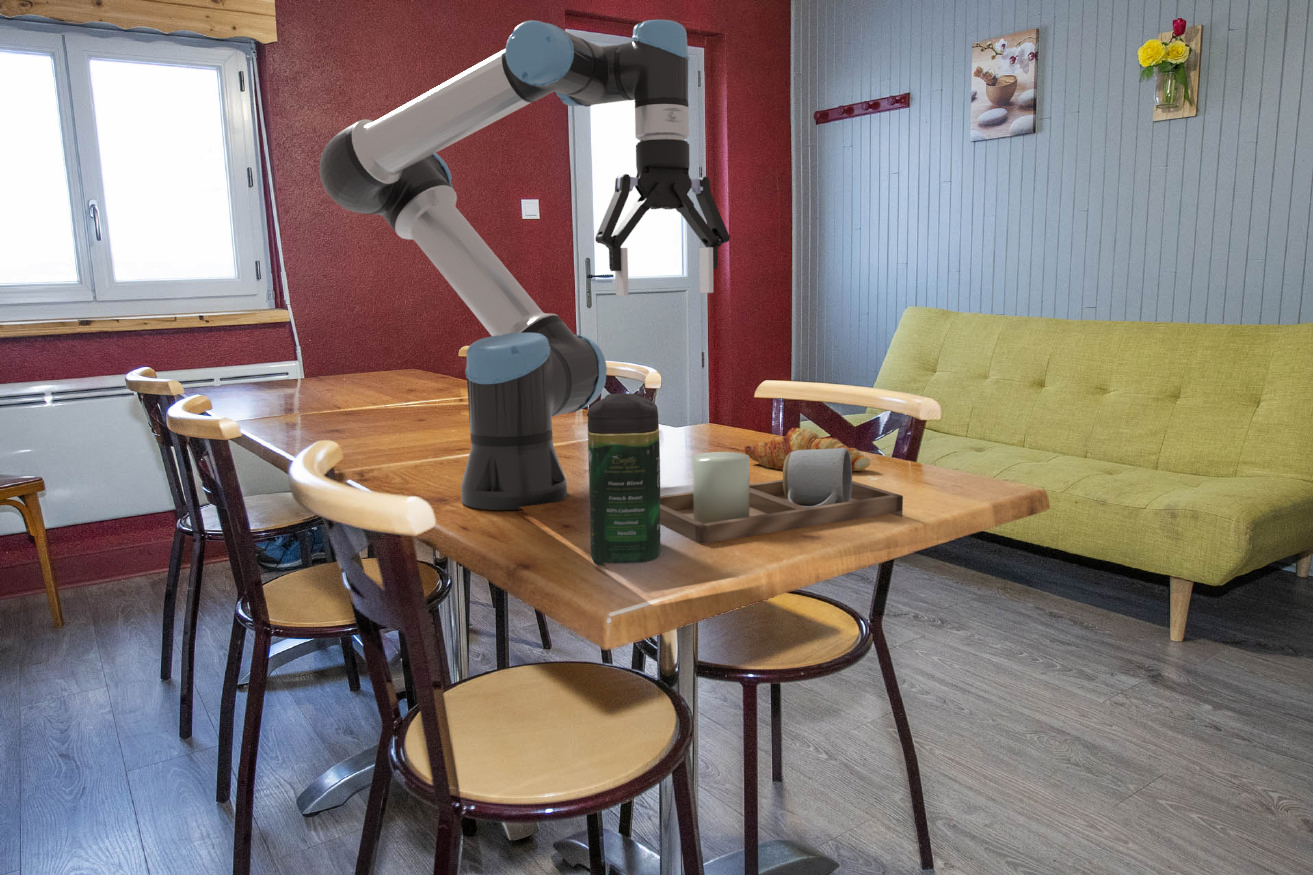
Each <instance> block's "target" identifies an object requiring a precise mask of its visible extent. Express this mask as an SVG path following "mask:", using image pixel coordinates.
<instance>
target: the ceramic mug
mask: <svg viewBox="0 0 1313 875" xmlns="http://www.w3.org/2000/svg"><path fill="white" fill-rule="evenodd" d="M782 480H783V489H784V494H785V497H786V499H787V500H788V501H789V502H792V503H795V504H799V505H814V506H803V507H806V508H810V507H816V506H823V505H829V504H836V503H843V502H849V501H850V498H851V492H852V481H853V471H852V465H851V457H850V452H849V451H848V449H846V448H836V449H815V450H798V451H793V452H790V453H789V454H788V455H787V456H786V459H785V461H784V467H783V470H782Z"/></svg>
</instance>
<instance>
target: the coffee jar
mask: <svg viewBox="0 0 1313 875" xmlns="http://www.w3.org/2000/svg"><path fill="white" fill-rule="evenodd" d="M658 409H659V408H658V407H657V404H656V403H655V402H653V401H651V400H650V399H648V398H645V397H644V396H643V395H642V394H639V393H610V394H607V395H605V397H603V398H602V399H600V400H598V401H596V402H593V403H592V404H591V405H590V407H588V412H587V414H586V416H587V450H588V451H587V452H588V453H587V454H588V457H587V458H588V486H589V487H588V489H589V490H588V491H589V492H588V494H589V515H590V516H589V524H590V525H589V526H590V527H589V531H590V532H589V534H590V535H589V536H590V538H589V539H590V558H591V560H592V562H593V563H594V564H595V565H596V566H599V567H600V566H601V567H607V565H606V564H637V563H640V564H641V563H647V562H650V561H652V562H653V561H655V560H656V559H658V558H659V556H660V554H661V534H662V533H661V524H660V496H661V455H660V454H661V449H660V426H659V411H658Z"/></svg>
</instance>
